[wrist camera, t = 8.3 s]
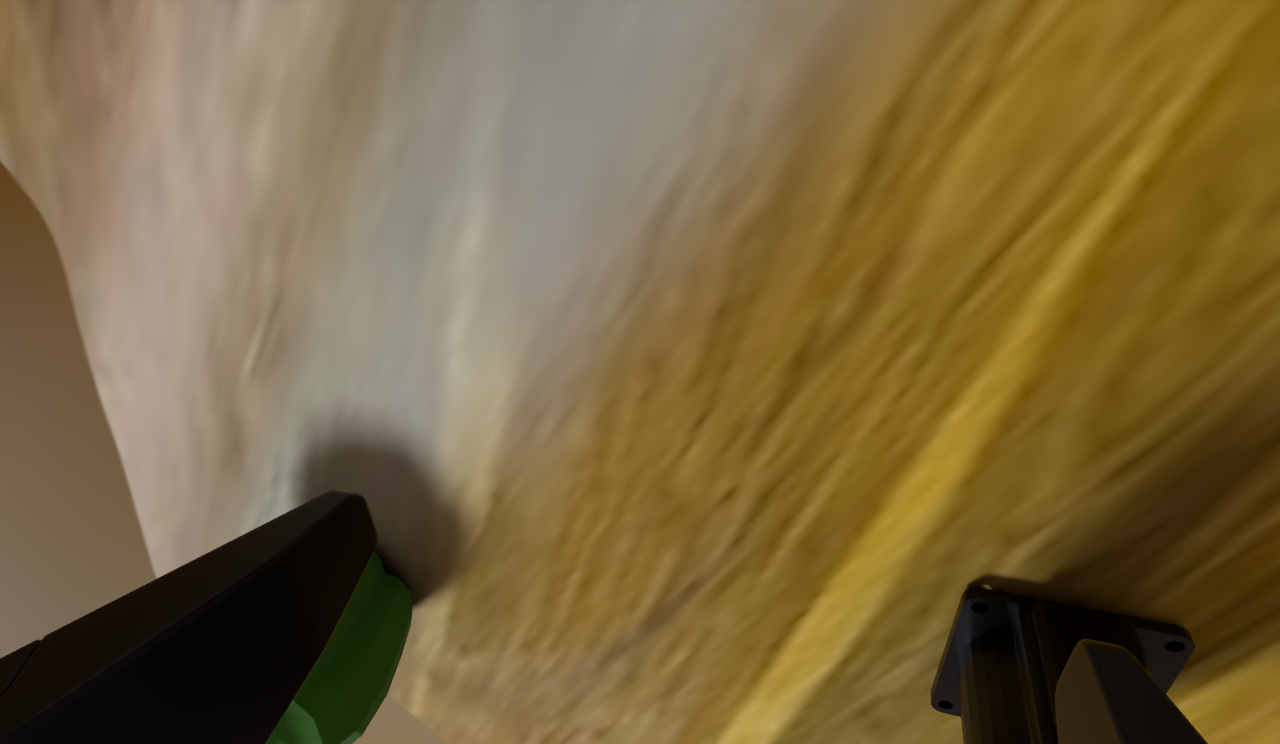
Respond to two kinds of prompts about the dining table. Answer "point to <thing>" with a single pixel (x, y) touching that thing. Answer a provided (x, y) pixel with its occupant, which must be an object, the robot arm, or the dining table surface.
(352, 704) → the bell pepper
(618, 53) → the dining table surface
